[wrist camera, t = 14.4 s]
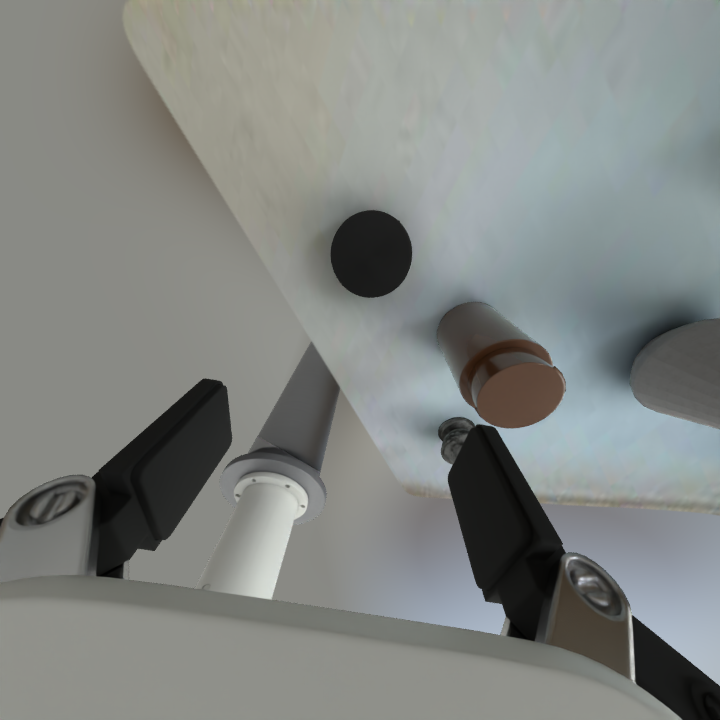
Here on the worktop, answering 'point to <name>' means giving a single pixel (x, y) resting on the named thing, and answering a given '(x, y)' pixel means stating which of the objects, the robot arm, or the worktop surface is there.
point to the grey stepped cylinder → (453, 437)
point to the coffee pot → (681, 373)
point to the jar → (499, 366)
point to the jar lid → (371, 254)
